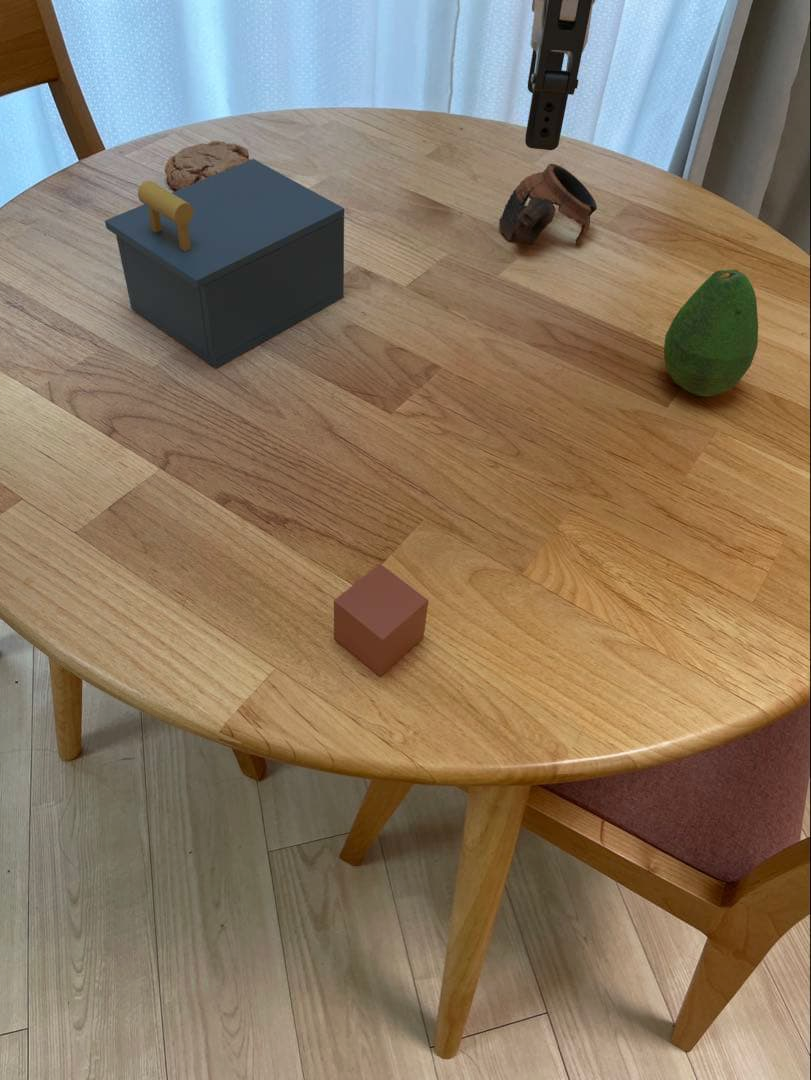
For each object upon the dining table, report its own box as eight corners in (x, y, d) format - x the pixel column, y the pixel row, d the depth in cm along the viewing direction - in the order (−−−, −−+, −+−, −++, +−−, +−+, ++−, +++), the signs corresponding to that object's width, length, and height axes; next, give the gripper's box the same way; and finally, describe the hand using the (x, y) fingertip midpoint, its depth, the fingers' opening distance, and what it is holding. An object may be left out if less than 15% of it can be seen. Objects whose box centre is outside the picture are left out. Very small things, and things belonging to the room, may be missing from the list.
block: (380, 677, 61) (382, 640, 57) (333, 638, 63) (333, 600, 59) (423, 638, 63) (429, 600, 60) (377, 601, 65) (379, 562, 62)
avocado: (700, 353, 87) (743, 244, 78) (751, 402, 83) (803, 292, 74) (634, 371, 85) (670, 261, 76) (684, 423, 80) (728, 312, 71)
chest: (215, 369, 81) (205, 285, 75) (131, 309, 86) (113, 226, 80) (343, 297, 90) (344, 216, 83) (259, 246, 95) (254, 166, 88)
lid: (197, 288, 74) (189, 232, 70) (106, 228, 79) (94, 173, 75) (344, 216, 83) (344, 162, 79) (254, 166, 88) (250, 113, 84)
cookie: (148, 179, 103) (144, 154, 100) (211, 148, 109) (209, 123, 106) (210, 209, 99) (207, 184, 97) (272, 175, 105) (271, 150, 103)
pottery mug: (505, 207, 104) (551, 149, 99) (563, 261, 105) (612, 207, 100) (475, 228, 95) (524, 166, 90) (538, 288, 96) (591, 230, 91)
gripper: (528, -209, 53) (492, 71, 66) (523, -153, 44) (482, 161, 57) (651, -197, 53) (591, 82, 66) (672, -138, 44) (598, 174, 56)
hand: (541, 118), depth 61 cm, fingers open, 8 cm apart
